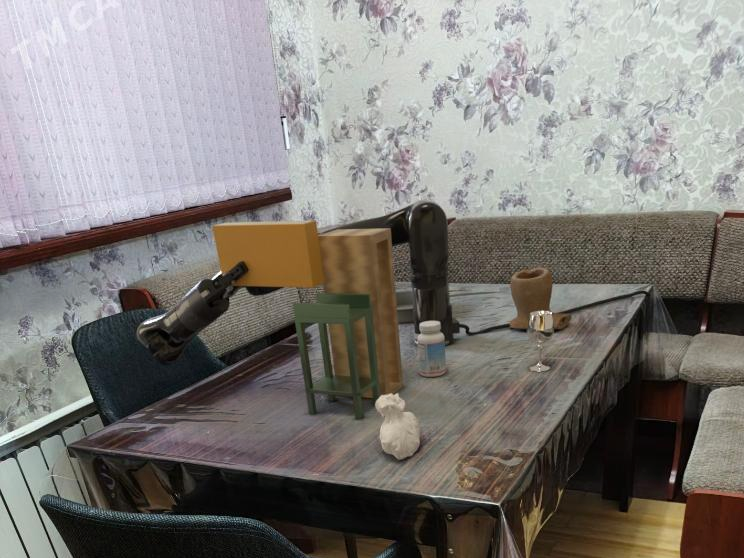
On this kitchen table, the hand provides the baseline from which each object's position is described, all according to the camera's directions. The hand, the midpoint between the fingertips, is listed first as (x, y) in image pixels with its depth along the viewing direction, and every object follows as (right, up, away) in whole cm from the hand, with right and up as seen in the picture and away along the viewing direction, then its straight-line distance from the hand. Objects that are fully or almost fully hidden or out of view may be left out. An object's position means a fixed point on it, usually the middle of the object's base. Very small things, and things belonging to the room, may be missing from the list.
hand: (252, 263), depth 137 cm
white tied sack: (+29, -38, -13) cm, 50 cm away
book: (+4, -4, 0) cm, 6 cm away
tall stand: (+22, -22, +15) cm, 35 cm away
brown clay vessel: (+65, +1, +47) cm, 80 cm away
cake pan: (+31, +13, +73) cm, 80 cm away
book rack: (+18, -27, +7) cm, 33 cm away
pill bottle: (+36, -16, +23) cm, 46 cm away
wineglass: (+60, -16, +20) cm, 65 cm away
